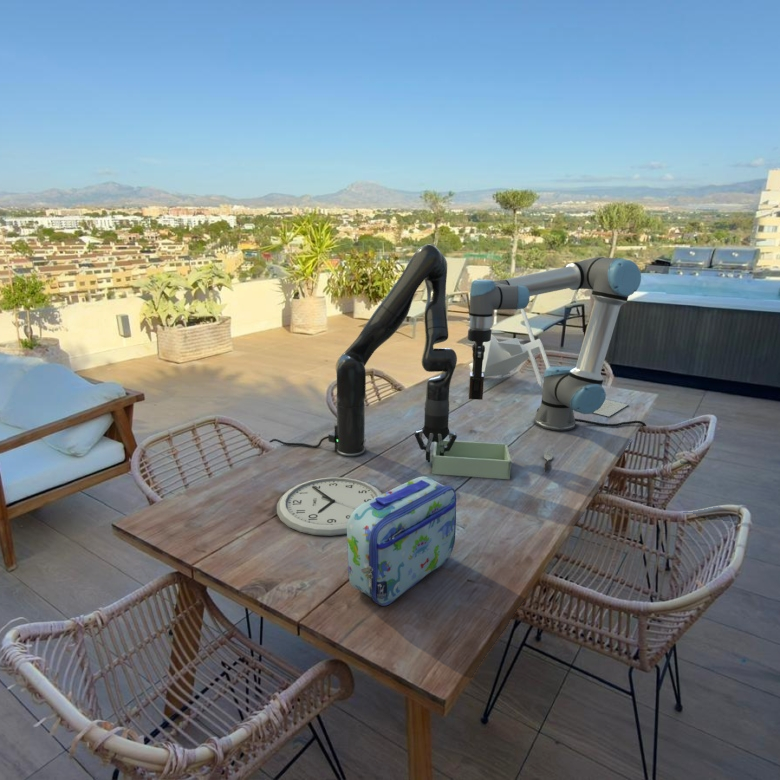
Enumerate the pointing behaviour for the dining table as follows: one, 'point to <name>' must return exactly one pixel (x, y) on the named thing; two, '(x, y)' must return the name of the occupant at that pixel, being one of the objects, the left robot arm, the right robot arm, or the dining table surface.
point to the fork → (547, 459)
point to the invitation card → (610, 408)
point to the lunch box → (400, 538)
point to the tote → (473, 460)
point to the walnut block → (471, 386)
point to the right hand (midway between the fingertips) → (475, 396)
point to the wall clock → (324, 504)
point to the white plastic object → (511, 354)
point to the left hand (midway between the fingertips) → (434, 461)
